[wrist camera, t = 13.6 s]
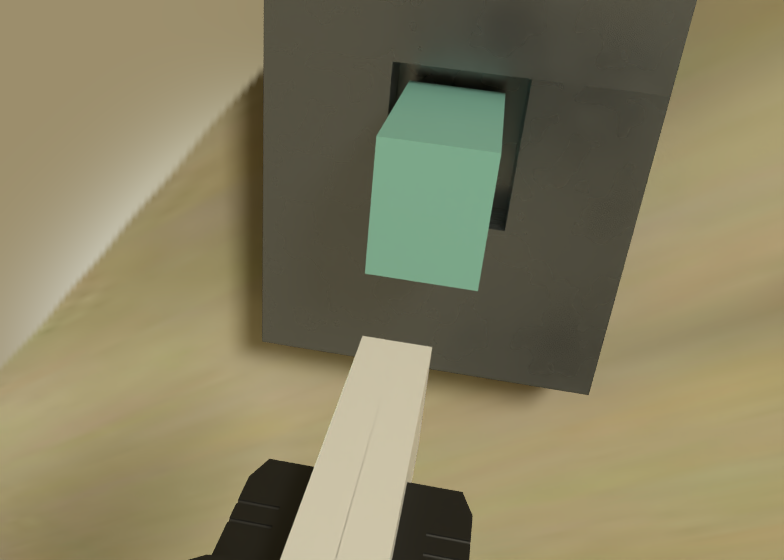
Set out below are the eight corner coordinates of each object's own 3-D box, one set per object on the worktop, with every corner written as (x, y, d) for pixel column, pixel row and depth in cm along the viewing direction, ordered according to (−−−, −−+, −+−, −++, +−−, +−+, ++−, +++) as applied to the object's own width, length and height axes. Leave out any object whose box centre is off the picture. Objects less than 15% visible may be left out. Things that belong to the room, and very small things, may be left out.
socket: (582, 354, 37) (590, 405, 34) (282, 306, 39) (257, 350, 35) (710, -134, 27) (740, -139, 23) (292, -174, 28) (257, -185, 25)
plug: (487, 195, 33) (477, 291, 25) (401, 183, 34) (365, 273, 26) (506, 86, 31) (501, 153, 23) (413, 74, 31) (376, 135, 23)
